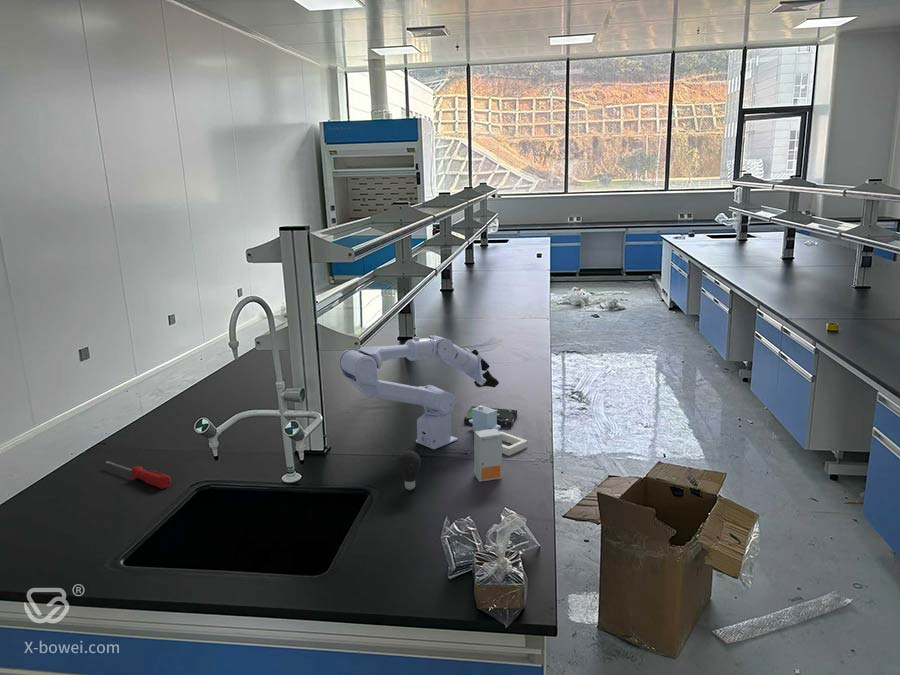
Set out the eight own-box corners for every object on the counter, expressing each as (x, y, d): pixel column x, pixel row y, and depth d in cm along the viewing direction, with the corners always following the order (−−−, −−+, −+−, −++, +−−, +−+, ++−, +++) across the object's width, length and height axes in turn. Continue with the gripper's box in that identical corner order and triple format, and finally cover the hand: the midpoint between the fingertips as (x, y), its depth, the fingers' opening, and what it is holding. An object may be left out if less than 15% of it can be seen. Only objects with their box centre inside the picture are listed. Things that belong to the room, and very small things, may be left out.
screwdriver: (113, 465, 171) (111, 453, 170) (173, 485, 159) (171, 472, 158) (100, 470, 168) (98, 458, 167) (160, 491, 156) (158, 478, 155)
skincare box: (479, 482, 157) (479, 437, 154) (474, 475, 161) (473, 430, 158) (502, 479, 158) (502, 434, 155) (496, 471, 162) (496, 427, 159)
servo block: (492, 438, 183) (492, 413, 182) (467, 429, 190) (467, 405, 189) (501, 434, 186) (501, 410, 184) (477, 425, 193) (477, 402, 191)
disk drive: (517, 418, 200) (471, 413, 204) (517, 409, 200) (471, 405, 204) (511, 430, 191) (463, 425, 195) (511, 421, 190) (463, 416, 194)
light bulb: (393, 489, 154) (392, 451, 151) (411, 482, 158) (409, 444, 155) (409, 497, 150) (407, 458, 148) (426, 489, 154) (425, 451, 151)
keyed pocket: (508, 455, 171) (508, 448, 171) (482, 445, 178) (482, 439, 178) (527, 447, 177) (527, 440, 176) (501, 437, 184) (501, 431, 183)
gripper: (478, 365, 175) (510, 382, 183) (461, 334, 186) (492, 352, 194) (462, 382, 177) (493, 399, 185) (446, 351, 188) (476, 368, 196)
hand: (491, 376), depth 190 cm, fingers open, 7 cm apart
